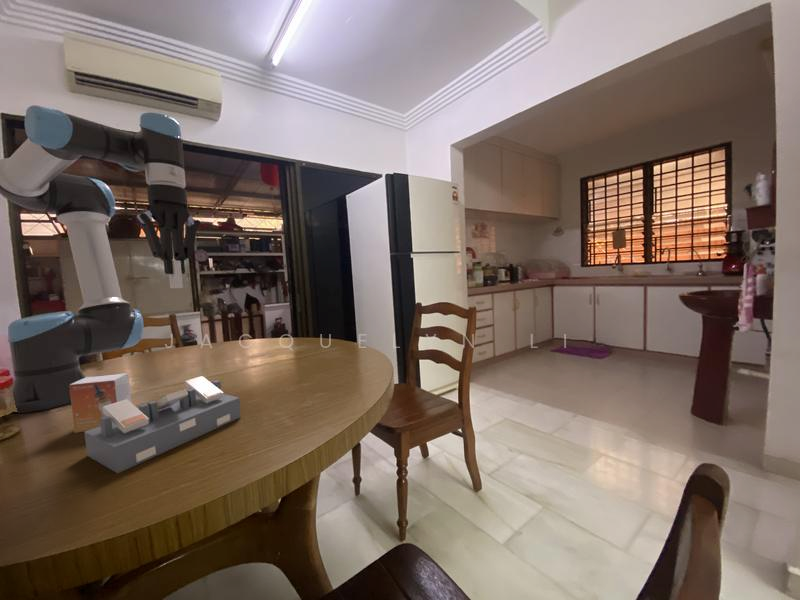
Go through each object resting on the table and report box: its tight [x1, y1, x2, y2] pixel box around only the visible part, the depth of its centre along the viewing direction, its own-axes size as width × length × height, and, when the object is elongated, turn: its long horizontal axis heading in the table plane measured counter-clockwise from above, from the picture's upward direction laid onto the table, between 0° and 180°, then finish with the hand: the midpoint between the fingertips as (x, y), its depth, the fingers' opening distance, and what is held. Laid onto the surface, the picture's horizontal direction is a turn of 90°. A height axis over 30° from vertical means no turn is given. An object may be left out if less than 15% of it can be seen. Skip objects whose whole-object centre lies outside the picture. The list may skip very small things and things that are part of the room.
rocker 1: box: [103, 399, 149, 433], centre depth 58 cm, size 8×4×1 cm, turn 62°
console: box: [83, 380, 242, 474], centre depth 64 cm, size 12×22×8 cm, turn 152°
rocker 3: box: [184, 375, 224, 403], centre depth 70 cm, size 8×4×1 cm, turn 62°
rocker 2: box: [156, 388, 188, 410], centre depth 64 cm, size 8×4×1 cm, turn 61°
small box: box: [70, 372, 132, 434], centre depth 70 cm, size 8×6×10 cm
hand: (176, 287), depth 77 cm, fingers closed
